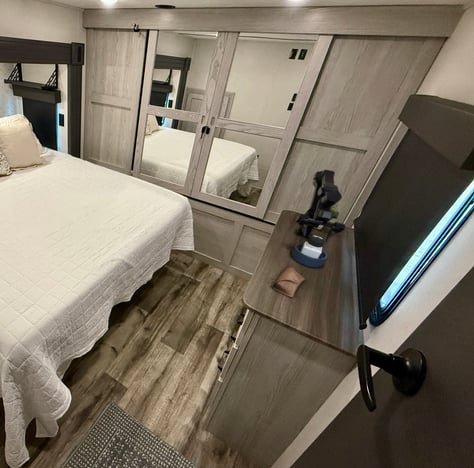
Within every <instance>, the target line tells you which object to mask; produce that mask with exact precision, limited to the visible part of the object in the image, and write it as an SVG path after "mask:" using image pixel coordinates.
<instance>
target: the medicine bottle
mask: <svg viewBox="0 0 474 468" xmlns="http://www.w3.org/2000/svg"><path fill="white" fill-rule="evenodd" d="M325 243H326V240H325V239H324V238H322V237H321V236H318V235H310V238H308V240H307V241H305V242H304V245H303V247H302V249H301V251H300V252H301V253H303V254H305V255H307V256H309V257H313V258H319V256H320V255H321V252H322V250H323V246H324V244H325Z"/></svg>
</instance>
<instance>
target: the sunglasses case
mask: <svg viewBox="0 0 474 468" xmlns="http://www.w3.org/2000/svg"><path fill="white" fill-rule="evenodd" d="M305 280H306V278H305V277H303V276H302V275H301V274H300V273H299V272H298V271H296V270H295V269H294V268H293V267H292V265H287V266H286V267H285V269H284V270H283V271H282V272H281V273H280V274H279V276H278V277H277V278H276V280H275V281H274V283H272V289H273V290H275V291H277V292H278V293H280V294H282V295H284V296H287V297H289V298H294V296H295V294H296V291H297V290H298V289H299V287H300V286H301V284H302V283H304V281H305Z"/></svg>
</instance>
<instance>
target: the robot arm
mask: <svg viewBox="0 0 474 468" xmlns="http://www.w3.org/2000/svg"><path fill="white" fill-rule="evenodd" d="M335 174H336V172H335V171H334V170H330V169H323V170H319V171H316V172H315V173H314V174H313V175H312V185H313V187H314V190H313V193H312V197H311V201H310V204H309V209H307V210H306V212H304V213H299V214H298V215H297V217H296V219H295V223H298V225H299V228H298V229H297V230H296V235H297V236H302V237H305V238H306V239H309V238H310V236H311V234H312V231H313V230H314V228H315V229H318V228H319V227H320V226H322V227H326V228H329V231H328V232H327V235H326V237H325V243H328V242H329V241H330V239H331V238H333V236H334V235H335V234H338V233H342V232H343V231H345V230H346V224H345V223H343V222H338V221H334V223H331V222H330V221H332V220H337V219H338V217H339V214H340V212H339V211H335V210H334V211H332V208H333V206H335V205H336V204H338V203H339V202H340V201H341V199H342V197H343V195H342V193H341V192H340V190H339V186H338V185H336V184H335Z"/></svg>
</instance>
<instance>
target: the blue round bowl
mask: <svg viewBox="0 0 474 468" xmlns="http://www.w3.org/2000/svg"><path fill="white" fill-rule="evenodd" d="M304 243H305V242H304ZM304 243H296V244H295V246H294V248H293V249H292V251H291V253H290V255H291V257H292V258H293V260H295V262H298V263H299V264H301V265H304V266H307V267H311V268H321V267H322V266H323V265H324V264H325V262H326V260H327V258H328V254H327V253H326V251H324V250H323V249H322V252H321V255H320V256H319V258H313V257H309V256H307V255H305V254H303V253H301V252H300V251H301V249H302V247H303V245H304Z"/></svg>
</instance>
